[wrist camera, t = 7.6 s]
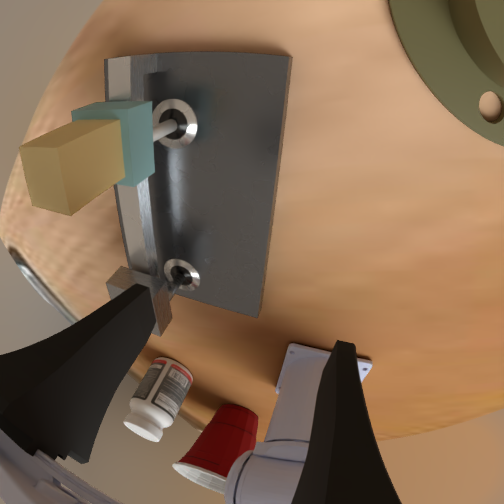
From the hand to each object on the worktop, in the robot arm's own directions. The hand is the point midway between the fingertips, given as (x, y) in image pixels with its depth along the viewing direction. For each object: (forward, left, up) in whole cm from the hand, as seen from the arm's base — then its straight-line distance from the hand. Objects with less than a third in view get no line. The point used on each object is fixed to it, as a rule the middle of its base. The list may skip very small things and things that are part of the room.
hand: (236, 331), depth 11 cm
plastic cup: (-33, +2, -11) cm, 35 cm away
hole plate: (0, +7, -10) cm, 13 cm away
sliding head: (+5, +9, -9) cm, 14 cm away
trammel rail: (0, +9, -9) cm, 13 cm away
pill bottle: (-26, +11, -11) cm, 30 cm away
